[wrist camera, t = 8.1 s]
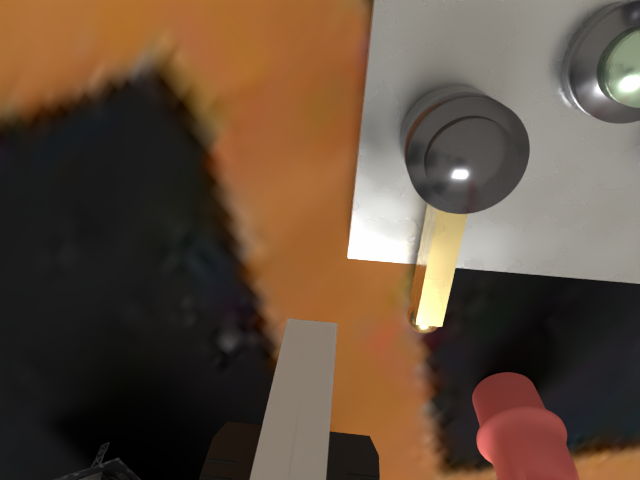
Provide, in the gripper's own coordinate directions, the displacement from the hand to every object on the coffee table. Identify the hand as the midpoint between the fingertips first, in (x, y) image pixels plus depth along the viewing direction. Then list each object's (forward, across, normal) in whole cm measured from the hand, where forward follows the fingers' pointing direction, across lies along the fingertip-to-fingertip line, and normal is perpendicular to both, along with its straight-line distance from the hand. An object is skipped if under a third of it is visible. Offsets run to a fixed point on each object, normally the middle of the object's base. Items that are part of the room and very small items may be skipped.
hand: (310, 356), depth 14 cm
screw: (+9, +5, +2) cm, 10 cm away
